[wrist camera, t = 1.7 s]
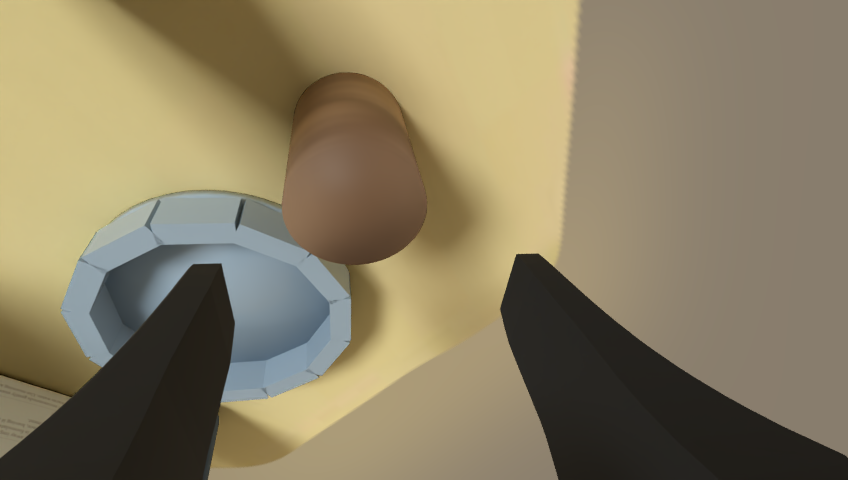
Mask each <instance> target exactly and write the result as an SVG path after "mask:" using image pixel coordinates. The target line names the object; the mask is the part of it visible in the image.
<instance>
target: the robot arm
mask: <svg viewBox="0 0 848 480" xmlns="http://www.w3.org/2000/svg"><path fill="white" fill-rule="evenodd" d="M500 310H501V314H502V318H503V322H504V327H505V330H506V334H507V338H508V341H509V344H510V347H511V350H512V352H513V355H514V357H515V360H516V362H517V365H518V367H519V370H520V372H521V375H522V377H523V379H524V382H525V384H526V387H527V389H528V392H529V394H530V396H531V399H532V401H533V404H534V406H535V409H536V411H537V414H538V416H539V419H540V421H541V424H542V427H543V429H544V432H545V435H546V438H547V442H548V445H549V448H550V452H551V455H552V458H553V462H554V465H555V469H556V472H557V476H558V479H559V480H848V458H847V457H846V456H845V455H843V454H841V453H839V452H837V451H835V450H832V449H830V448H828V447H826V446H824V445H822V444H819V443H817V442H815V441H813V440H811V439H809V438H807V437H804V436H802V435H800V434H798V433H796V432H794V431H791V430H789V429H787V428H785V427H783V426H781V425H779V424H777V423H775V422H773V421H771V420H769V419H767V418H765V417H764V416H762V415H760V414H758V413H756V412H754V411H752V410H750V409H748V408H746V407H744V406H742V405H741V404H739V403H737V402H735V401H734V400H732V399H729V398H728V397H726V396H724V395H723V394H721V393H719V392H718V391H716V390H715V389H713V388H711V387H710V386H708V385H706V384H704V383H703V382H701V381H700V380H698V379H696V378H694V377H693V376H691V375H690V374H688V373H687V372H685V371H684V370H682V369H680V368H679V367H677V366H676V365H674V364H673V363H671V362H670V361H669V360H667V359H666V358H664V357H663V356H661V355H660V354H658V353H657V352H655V351H654V350H653V349H651V348H650V347H648V346H647V345H646V344H644V343H643V342H642V341H640V340H639V339H638V338H636V337H635V336H634V335H632V334H631V333H630V332H629V331H627V330H626V329H625V328H623V327H622V326H621V325H620V324H618V323H617V322H616V321H614V320H613V319H612V318H611V317H610V316H609V315H608V314H606V313H605V312H604V311H603V310H601V309H600V308H599V307H598V306H597V305H595V304H594V303H593V302H592V301H591V300H590V299H589V298H588V297H587V296H585V295H584V294H583V293H582V292H581V291H580V290H578V288H576V287H575V286H574V285H573V284H572V283H571V282H570V281H569V280H568V279H566V278H565V277H564V276H563V275H562V274H561V273H560V272H558V270H557V269H555V268H554V267H553V266H552V265H551V264H550V263H549V262H548V261H546V260H545V259H544V258H543V257H542V256H541V255H539V254H516V257H515V261H514V264H513V267H512V271H511V274H510V277H509V281H508V284H507V288H506V291H505V294H504V298H503V301H502V304H501V308H500ZM234 329H235V321H234V316H233V312H232V307H231V303H230V299H229V294H228V290H227V285H226V281H225V277H224V272H223V268H222V263H213V264H193V265H191V266H190V267H189V268H188V270H187V271H186V272H185V273H184V275H183V276H182V277H181V278H180V280H179V281H178V282H177V283H176V285H175V286H174V287H173V288H172V290H171V291H170V292H169V293H168V295H167V296H166V297H165V298H164V299H163V301H162V302H161V303H160V304H159V305H158V307H157V308H156V309H155V310H154V311H153V313H152V314H151V315H150V316H149V317H148V318H147V319H146V321H145V322H144V323H143V324H142V325H141V326H140V327H139V329H138V330H137V331H136V332H135V333H134V334H133V335H132V337H131V338H130V339H129V340H128V341H127V342H126V343H125V344H124V345H123V346H122V347H121V348H120V349H119V350H118V351H117V352H116V354H115V355H114V356H113V357H112V358H111V359H110V360H109V361H108V362H107V363H106V364H105V365H104V366H103V367H102V368H101V369H100V370H99V371H98V372H97V373H96V374H95V375H94V376H93V377H92V378H91V379H90V380H89V381H88V382H87V383H86V384H85V385H84V386H83V387H82V388H81V389H80V390H79V391H78V392H77V393H75V394H74V395H73V396H72V397H71V398H70V399H69V400H68V401H67V402H66V403H65V404H63V405H62V406H61V407H60V408H59V409H58V410H57V411H56V412H55V413H54V414H52V415H51V416H50V417H49V418H48V419H47V420H46V421H44V422H43V423H42V424H41V425H40V426H38V427H37V428H36V429H35V430H34V431H32V432H31V433H30V434H29V435H28V436H26V437H25V438H24V439H23V440H22V441H21V442H19V443H18V444H17V445H16V446H14V447H13V448H12V449H11V450H9V451H8V452H7V453H6V454H5V455H3V456H2V457H1V458H0V480H203V474H204V470H205V465H206V460H207V455H208V451H209V447H210V443H211V439H212V435H213V431H214V427H215V423H216V419H217V415H218V411H219V407H220V403H221V399H222V395H223V391H224V387H225V383H226V379H227V375H228V371H229V367H230V362H231V354H232V347H233V338H234Z"/></svg>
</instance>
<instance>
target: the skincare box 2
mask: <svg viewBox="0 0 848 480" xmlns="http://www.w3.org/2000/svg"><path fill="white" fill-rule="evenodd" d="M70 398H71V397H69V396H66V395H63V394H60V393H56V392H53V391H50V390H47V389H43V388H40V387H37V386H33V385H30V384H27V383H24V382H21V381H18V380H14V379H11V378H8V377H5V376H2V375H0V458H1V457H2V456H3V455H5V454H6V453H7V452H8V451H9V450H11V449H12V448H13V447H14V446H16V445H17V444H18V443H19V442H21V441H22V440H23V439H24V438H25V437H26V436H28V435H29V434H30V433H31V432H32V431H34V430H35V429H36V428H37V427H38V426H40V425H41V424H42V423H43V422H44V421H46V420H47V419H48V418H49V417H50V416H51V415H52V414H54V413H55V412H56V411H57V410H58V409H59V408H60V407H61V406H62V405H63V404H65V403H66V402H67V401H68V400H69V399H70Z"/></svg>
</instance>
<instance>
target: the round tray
mask: <svg viewBox="0 0 848 480" xmlns="http://www.w3.org/2000/svg"><path fill="white" fill-rule="evenodd" d="M213 263H222V268H223V272H224V277H225V281H226V285H227V290H228V294H229V299H230V303H231V307H232V312H233V316H234V321H235V329H234V338H233V347H232V354H231V362H230V367H229V371H228V375H227V379H226V383H225V387H224V391H223V395H222V399H221V402H231V401H243V400H255V399H267V398H268V395H269V396H270V397H274V396H277V395H279V394H281V393H284V392H286V391H288V390H291V389H293V388H296V387H298V386H300V385H303V384H305V383H307V382H310V381H312V380H314V379H317V378H319V375H321V376H322V375H323V374H324V372H325V371H326V370H327V369H328V368H329V367H330V365H331V364H332V363H333V362H334V361H335V360H336V359H337V357H338V356H339V355H340V354H341V353H342V352H343V350H344V349H345V348H346V347H347V346H348V345H349V343H350V341H351V288H350V273H349V270H348V269H347V268H346V265H345V264H338V263H333V262H329V261H326V260H323V259H321V258H318V257H316V256H314V255H312V254H311V253H309V252H307V251H306V250H305V249H303V248H302V247H301V246H300V245H299V244H298V243H297V242H296V241H295V240H294V239H293V237H292V236H291V235H290V233H289V231H288V229H287V228H286V225H285V222H284V220H283V215H282V205H279V204H277V203H274V202H271V201H269V200H266V199H263V198H259V197H255V196H251V195H247V194H242V193H236V192H229V191H217V190H195V191H183V192H177V193H171V194H166V195H162V196H159V197H155V198H152V199H148V200H146V201H144V202H142V203H139V204H137V205H135V206H133V207H131V208H129V209H128V210H126V211H124V212H123V213H121V214H120V215H118V216H117V217H116V218H115V219H114V220H112V221H111V222H110V223H109V224H108V225H107V226H105V227H103V228H101V229H99V230H98V232H96V234H95V235H94V237H93V238H92V240H91V241H90V243H89V245H88V246H87V248H86V249H85V251H84V252H83V254H82V255H81V257H80V259H79V260H78V263H77V265H76V268H75V271H74V273H73V276H72V279H71V282H70V284H69V287H68V290H67V292H66V295H65V298H64V300H63V303H62V306H61V309H62V311H61V313H62V315H63V317H64V319H65V320H66V322H67V324H68V326H69V328H70V329H71V331H72V333H73V335H74V336H75V338H76V340H77V342H78V343H79V345H80V347H81V349H82V350H83V352H84V354H85V356H86V357H90V359H89V360H91V361H92V362H94V363H96V364H98V365H99V366H101V367H103V366H104V365H105V364H106V363H107V362H108V361H109V360H110V359H111V358H112V357H113V356H114V355H115V354H116V352H117V351H118V350H119V349H120V348H121V347H122V346H123V345H124V344H125V343H126V342H127V341H128V340H129V339H130V338H131V337H132V335H133V334H134V333H135V332H136V331H137V330H138V329H139V327H140V326H141V325H142V324H143V323H144V322H145V321H146V319H147V318H148V317H149V316H150V315H151V314H152V313H153V311H154V310H155V309H156V308H157V307H158V305H159V304H160V303H161V302H162V301H163V299H164V298H165V297H166V296H167V295H168V293H169V292H170V291H171V290H172V288H173V287H174V286H175V285H176V283H177V282H178V281H179V280H180V278H181V277H182V276H183V275H184V273H185V272H186V271H187V270H188V268H189V267H190V266H191V265H193V264H213Z"/></svg>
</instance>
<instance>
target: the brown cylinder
mask: <svg viewBox="0 0 848 480" xmlns="http://www.w3.org/2000/svg"><path fill="white" fill-rule="evenodd" d="M426 212H427V197H426V192H425V189H424V185H423V182H422V179H421V175H420V172H419V169H418V166H417V162H416V159H415V156H414V152H413V149H412V146H411V143H410V139H409V136H408V133H407V129H406V126H405V123H404V120H403V116H402V113H401V110H400V107H399V105H398V102H397V101H396V99H395V97H394V96H393V95H392V93H391V92H390V91H389V90H388V89H387V88H386V87H385V86H384V85H382V84H381V83H380V82H378V81H376V80H374V79H373V78H370V77H368V76H365V75H362V74H358V73H336V74H332V75H328V76H326V77H323V78H321V79H319V80H318V81H316V82H314V83H313V84H312V85H311V86H309V87H308V88H307V89H306V91H305V92H304V93H303V94H302V96H301V97H300V99H299V101H298V103H297V105H296V108H295V112H294V119H293V126H292V134H291V141H290V148H289V155H288V162H287V170H286V177H285V184H284V191H283V199H282V215H283V220H284V222H285V225H286V228H287V229H288V231H289V233H290V235H291V236H292V237H293V239H294V240H295V241H296V242H297V243H298V244H299V245H300V246H301V247H302V248H303V249H305V250H306V251H307V252H309V253H311V254H312V255H314V256H316V257H318V258H321V259H323V260H326V261H329V262H333V263H338V264H346V265H360V264H368V263H373V262H377V261H380V260H383V259H386V258H388V257H390V256H392V255H394V254H396V253H398V252H399V251H401V250H402V249H404V248H405V247H406V246H407V245H408V244H409V243H410V242H411V241H412V240H413V239H414V238H415V237H416V235H417V234H418V232H419V231H420V229H421V227H422V225H423V223H424V220H425V217H426Z"/></svg>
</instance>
